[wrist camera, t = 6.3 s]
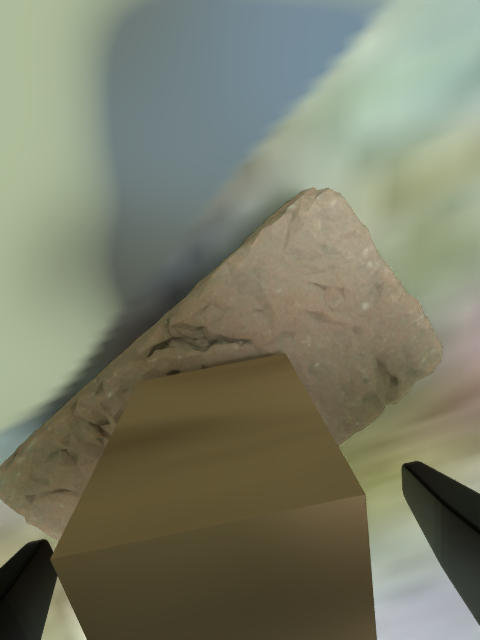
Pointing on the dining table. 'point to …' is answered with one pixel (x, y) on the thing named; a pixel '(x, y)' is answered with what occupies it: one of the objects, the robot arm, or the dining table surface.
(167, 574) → the walnut block
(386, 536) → the dining table surface
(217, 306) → the brick
